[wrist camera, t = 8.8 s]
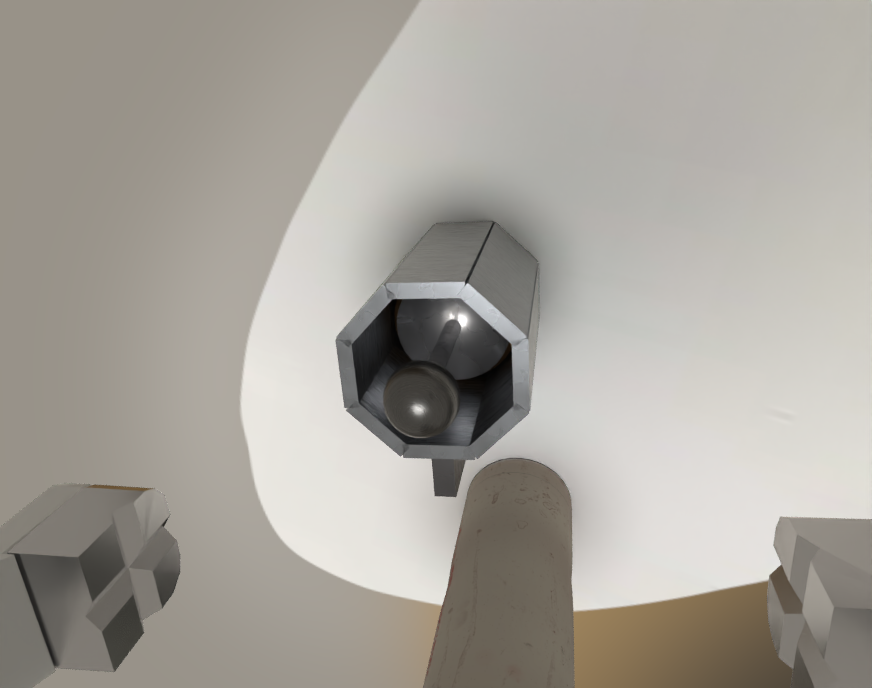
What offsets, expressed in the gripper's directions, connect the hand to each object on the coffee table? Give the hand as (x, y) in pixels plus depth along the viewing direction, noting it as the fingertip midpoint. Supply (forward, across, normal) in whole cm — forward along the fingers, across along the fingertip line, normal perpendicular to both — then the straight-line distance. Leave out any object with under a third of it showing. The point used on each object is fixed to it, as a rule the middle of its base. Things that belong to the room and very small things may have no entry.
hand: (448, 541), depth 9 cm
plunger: (+31, +5, +8) cm, 32 cm away
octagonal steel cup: (+37, +5, +9) cm, 39 cm away
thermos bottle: (+37, +2, +25) cm, 45 cm away
